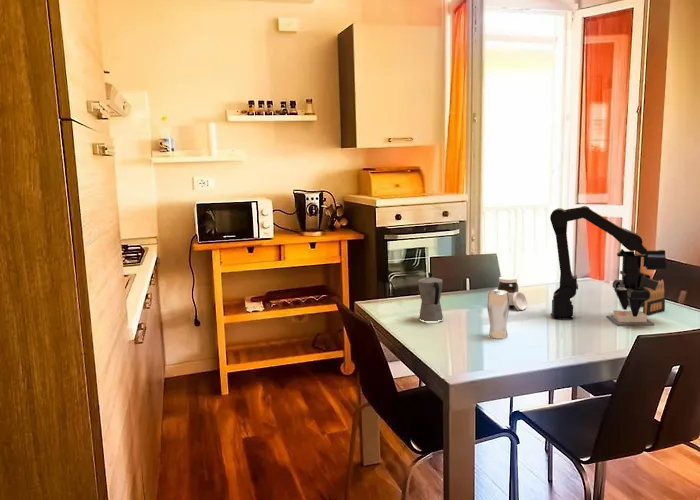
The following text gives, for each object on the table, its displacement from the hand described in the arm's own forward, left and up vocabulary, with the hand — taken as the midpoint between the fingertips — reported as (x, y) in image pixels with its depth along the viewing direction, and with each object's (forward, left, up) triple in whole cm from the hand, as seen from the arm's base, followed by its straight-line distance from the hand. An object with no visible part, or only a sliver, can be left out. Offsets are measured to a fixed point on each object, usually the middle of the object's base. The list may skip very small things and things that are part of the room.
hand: (629, 313), depth 197 cm
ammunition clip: (+13, +11, -3) cm, 17 cm away
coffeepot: (-68, +2, -3) cm, 69 cm away
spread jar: (-36, +21, -3) cm, 42 cm away
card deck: (0, 0, -2) cm, 2 cm away
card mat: (0, 0, -3) cm, 3 cm away
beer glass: (-47, -17, -3) cm, 51 cm away
